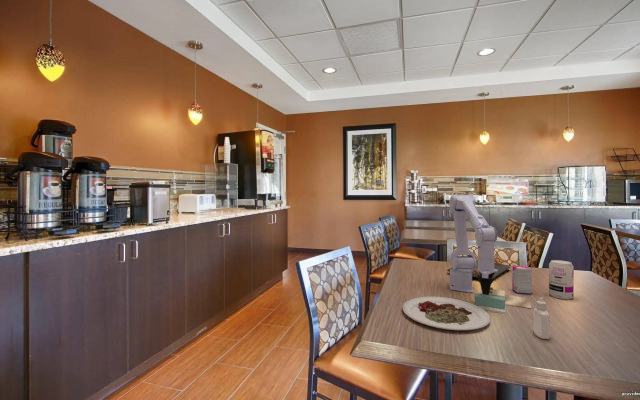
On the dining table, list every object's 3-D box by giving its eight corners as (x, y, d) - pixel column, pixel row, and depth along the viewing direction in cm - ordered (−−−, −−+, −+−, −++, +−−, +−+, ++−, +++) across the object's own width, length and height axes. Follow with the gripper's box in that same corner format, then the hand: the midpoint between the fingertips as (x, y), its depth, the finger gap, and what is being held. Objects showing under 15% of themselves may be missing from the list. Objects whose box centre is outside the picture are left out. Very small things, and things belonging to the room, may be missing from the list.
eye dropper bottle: (531, 336, 93) (531, 298, 93) (533, 330, 98) (533, 294, 97) (549, 341, 91) (549, 302, 90) (550, 334, 95) (550, 297, 94)
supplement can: (569, 294, 130) (569, 260, 129) (576, 301, 122) (576, 265, 122) (546, 292, 133) (546, 259, 133) (552, 298, 125) (552, 263, 125)
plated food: (491, 343, 91) (491, 332, 90) (393, 323, 105) (393, 313, 105) (490, 308, 117) (490, 300, 117) (412, 296, 131) (411, 289, 131)
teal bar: (474, 304, 119) (474, 295, 119) (475, 301, 122) (475, 293, 122) (505, 309, 113) (504, 300, 113) (504, 306, 116) (504, 297, 116)
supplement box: (532, 294, 131) (532, 268, 130) (517, 293, 132) (517, 268, 131) (526, 290, 136) (526, 265, 136) (511, 289, 137) (511, 265, 137)
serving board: (489, 285, 146) (489, 272, 146) (443, 275, 163) (443, 264, 163) (513, 270, 172) (513, 259, 172) (471, 263, 189) (471, 254, 189)
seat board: (478, 300, 124) (478, 291, 124) (480, 292, 135) (480, 283, 135) (531, 308, 115) (531, 299, 115) (528, 299, 125) (528, 290, 125)
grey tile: (478, 309, 116) (478, 307, 116) (479, 301, 123) (479, 300, 123) (505, 313, 111) (505, 312, 111) (505, 305, 119) (505, 304, 119)
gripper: (497, 262, 109) (497, 299, 110) (497, 255, 122) (498, 288, 122) (475, 260, 113) (476, 295, 113) (478, 253, 125) (478, 285, 126)
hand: (486, 291), depth 118 cm, fingers open, 7 cm apart
